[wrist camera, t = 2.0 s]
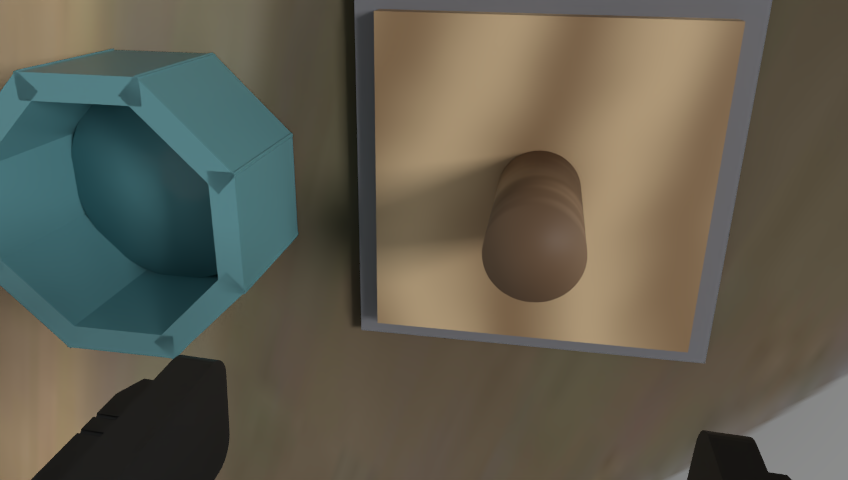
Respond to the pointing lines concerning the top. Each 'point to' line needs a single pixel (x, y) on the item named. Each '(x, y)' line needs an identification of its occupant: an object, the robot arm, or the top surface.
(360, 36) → the mat
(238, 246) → the bowl
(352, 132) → the top surface
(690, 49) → the lid
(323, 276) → the top surface
